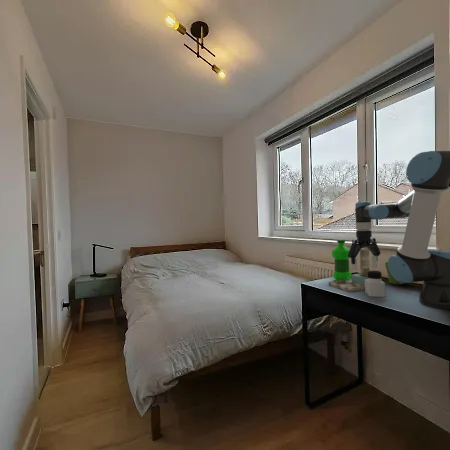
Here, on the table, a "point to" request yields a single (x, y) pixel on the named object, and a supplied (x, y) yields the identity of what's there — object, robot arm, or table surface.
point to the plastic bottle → (341, 261)
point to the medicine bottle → (374, 284)
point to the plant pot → (390, 277)
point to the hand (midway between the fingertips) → (364, 268)
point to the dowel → (364, 262)
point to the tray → (347, 285)
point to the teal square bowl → (358, 279)
